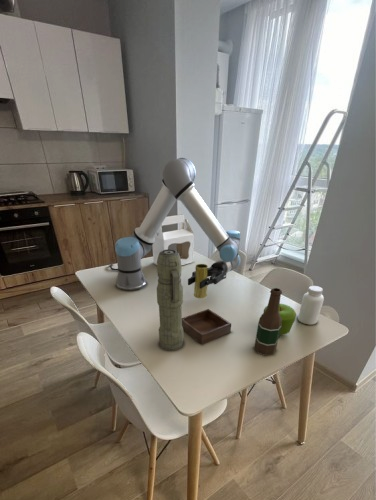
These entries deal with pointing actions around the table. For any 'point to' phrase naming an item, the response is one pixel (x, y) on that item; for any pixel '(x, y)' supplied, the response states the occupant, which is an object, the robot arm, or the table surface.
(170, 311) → the thermos
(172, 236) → the gable box
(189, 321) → the tray
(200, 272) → the vase
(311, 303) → the pill bottle
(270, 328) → the beer bottle
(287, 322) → the apple
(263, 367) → the table surface
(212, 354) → the table surface
